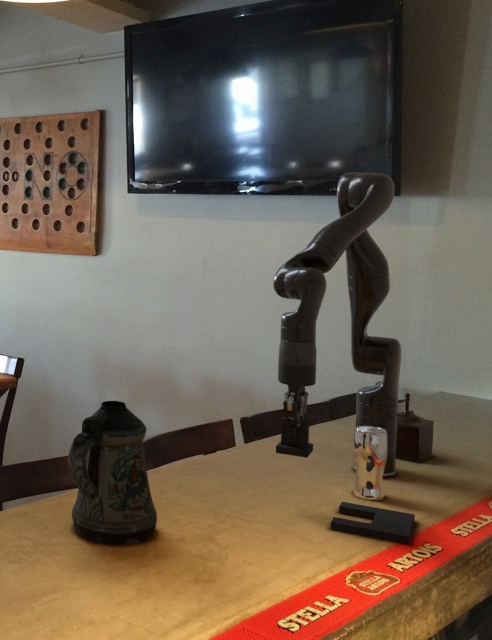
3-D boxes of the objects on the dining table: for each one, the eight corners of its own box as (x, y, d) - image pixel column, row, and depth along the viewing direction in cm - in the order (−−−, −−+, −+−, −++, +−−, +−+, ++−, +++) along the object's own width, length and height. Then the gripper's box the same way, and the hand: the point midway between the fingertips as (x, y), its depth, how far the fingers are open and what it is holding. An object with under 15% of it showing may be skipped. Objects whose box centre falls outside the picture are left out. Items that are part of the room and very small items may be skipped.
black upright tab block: (282, 446, 175) (283, 414, 175) (313, 450, 172) (314, 418, 172) (275, 453, 170) (276, 420, 169) (307, 457, 167) (308, 424, 166)
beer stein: (162, 520, 163) (165, 397, 162) (145, 558, 144) (149, 419, 143) (83, 510, 168) (85, 390, 167) (57, 544, 150) (59, 411, 149)
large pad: (341, 508, 172) (341, 501, 172) (414, 521, 165) (414, 514, 165) (330, 529, 160) (330, 521, 160) (408, 544, 153) (409, 536, 153)
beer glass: (389, 502, 176) (391, 434, 176) (355, 499, 178) (357, 432, 177) (381, 492, 183) (383, 426, 183) (349, 489, 185) (351, 424, 184)
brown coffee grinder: (435, 455, 214) (437, 387, 213) (418, 463, 206) (421, 393, 206) (375, 443, 225) (378, 378, 224) (358, 450, 218) (360, 383, 217)
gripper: (309, 368, 162) (306, 453, 163) (321, 358, 174) (319, 437, 175) (271, 364, 166) (268, 447, 167) (286, 354, 178) (283, 432, 179)
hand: (294, 441), depth 171 cm, fingers closed on black upright tab block, 2 cm apart
